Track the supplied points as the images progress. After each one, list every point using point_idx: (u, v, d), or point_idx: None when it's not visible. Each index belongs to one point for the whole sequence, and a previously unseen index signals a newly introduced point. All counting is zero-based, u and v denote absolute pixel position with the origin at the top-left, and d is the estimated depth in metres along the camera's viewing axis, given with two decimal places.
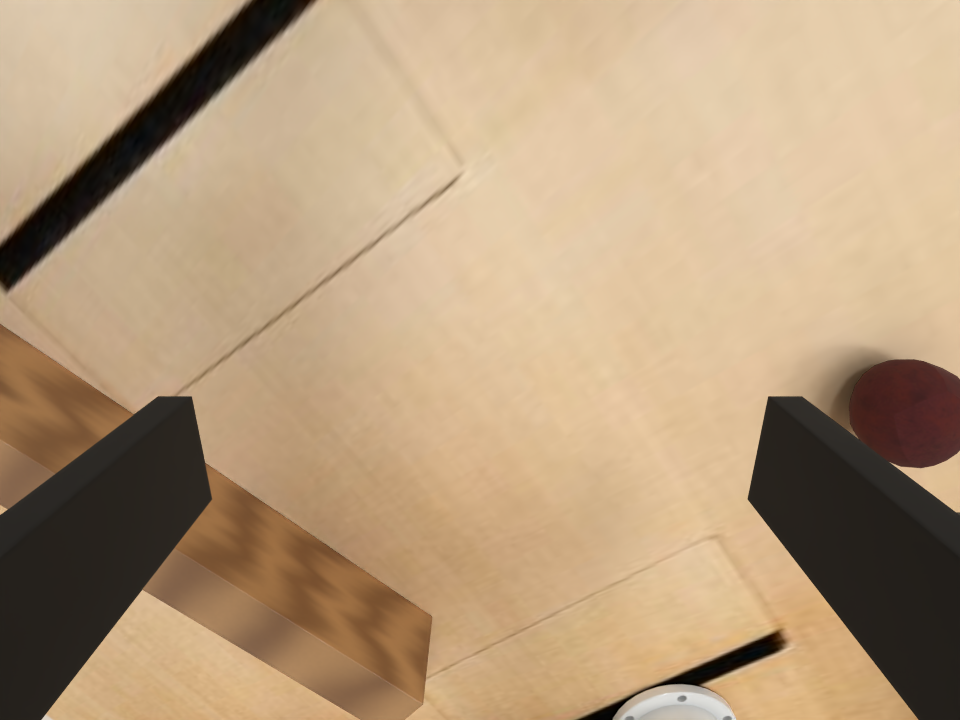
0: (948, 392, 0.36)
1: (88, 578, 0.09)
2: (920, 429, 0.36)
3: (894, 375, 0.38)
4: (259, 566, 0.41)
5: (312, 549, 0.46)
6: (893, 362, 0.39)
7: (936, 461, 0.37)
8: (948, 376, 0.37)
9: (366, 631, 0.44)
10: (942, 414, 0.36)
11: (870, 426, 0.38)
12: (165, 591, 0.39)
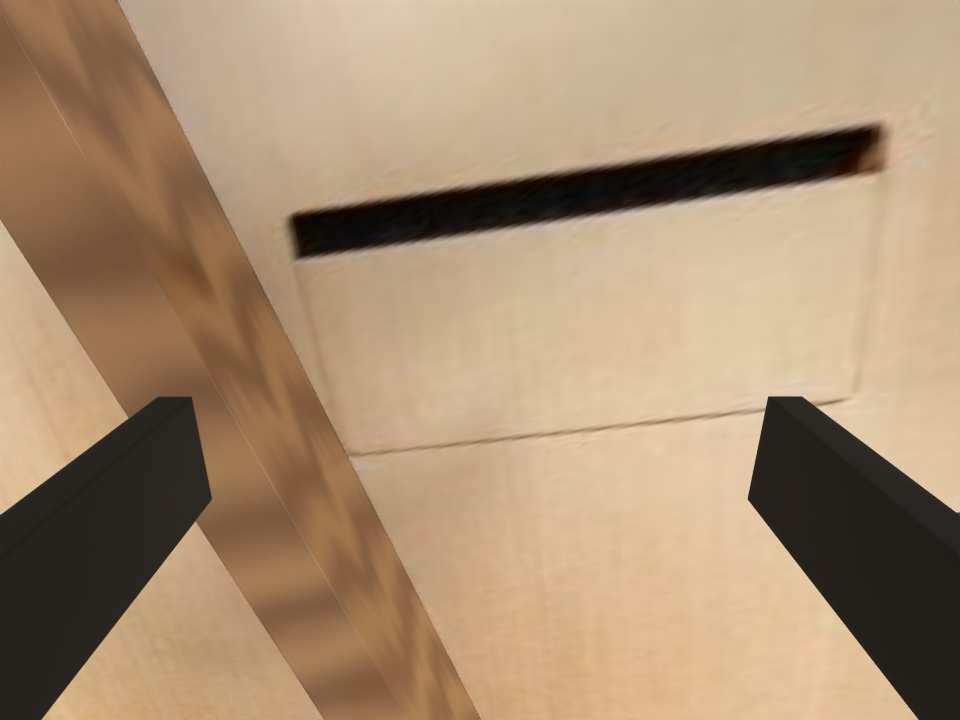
0: None
1: (89, 578, 0.09)
2: None
3: None
4: (416, 685, 0.35)
5: (440, 659, 0.40)
6: None
7: None
8: None
9: None
10: None
11: None
12: (323, 691, 0.31)
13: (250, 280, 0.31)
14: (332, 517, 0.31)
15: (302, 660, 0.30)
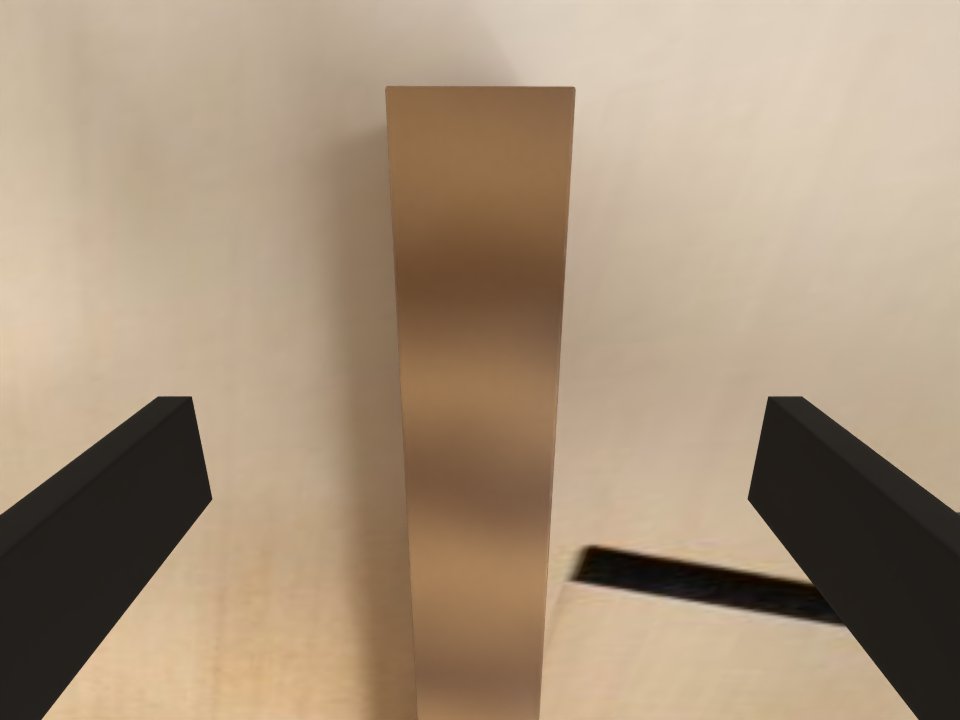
0: None
1: (88, 578, 0.09)
2: None
3: None
4: None
5: None
6: None
7: None
8: None
9: None
10: None
11: None
12: None
13: None
14: None
15: None
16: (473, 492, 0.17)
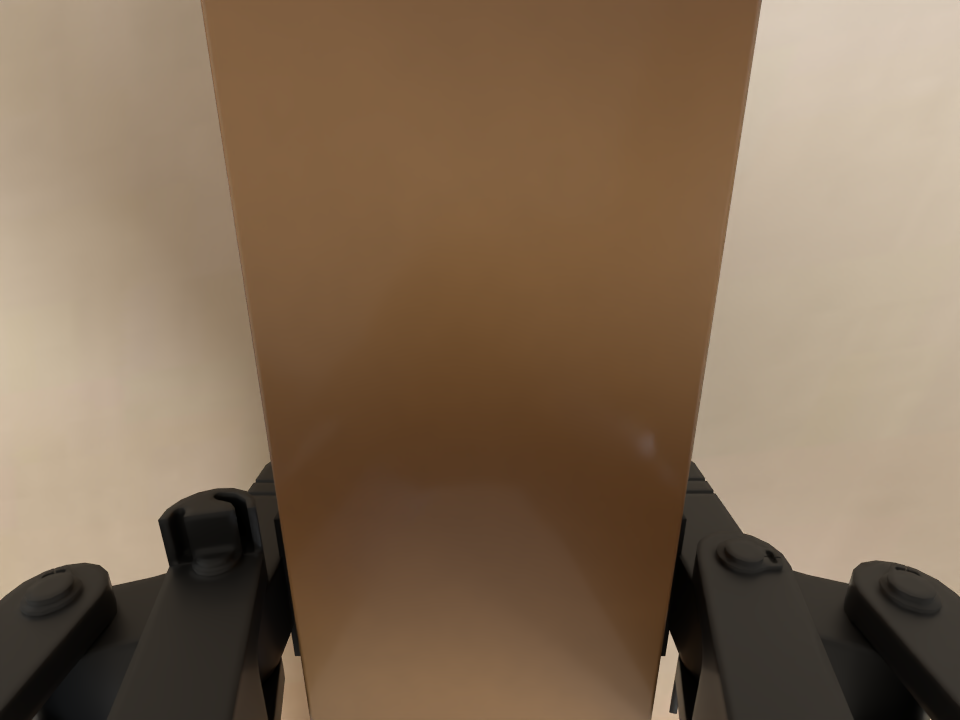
0: None
1: None
2: None
3: None
4: None
5: None
6: None
7: None
8: None
9: None
10: None
11: None
12: None
13: None
14: None
15: None
16: None
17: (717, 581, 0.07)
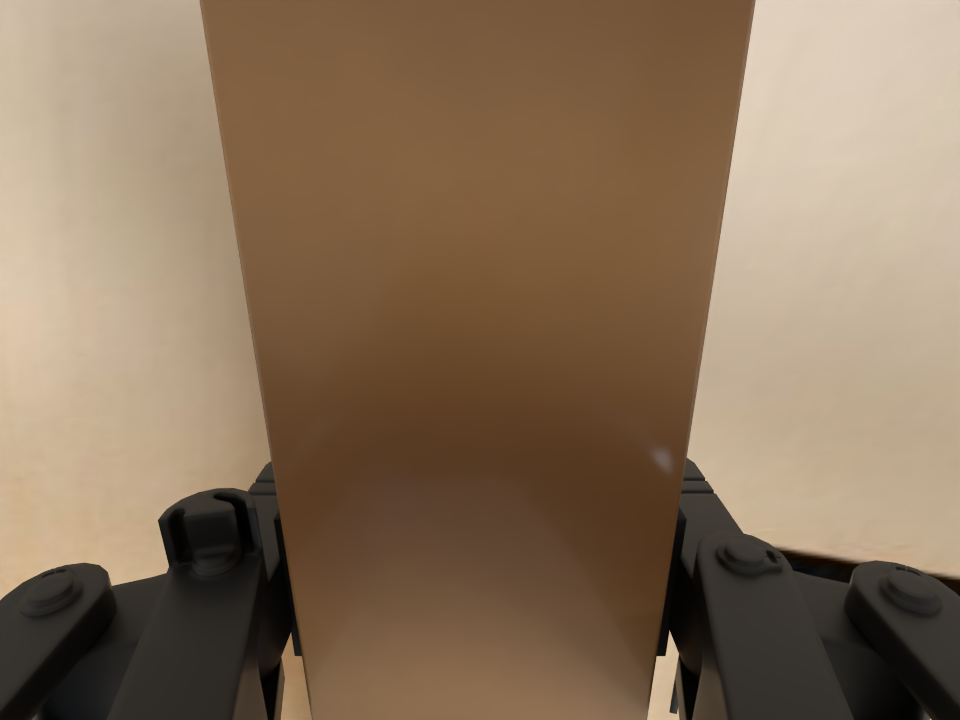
0: None
1: None
2: None
3: None
4: None
5: None
6: None
7: None
8: None
9: None
10: None
11: None
12: None
13: None
14: None
15: None
16: None
17: (717, 581, 0.07)
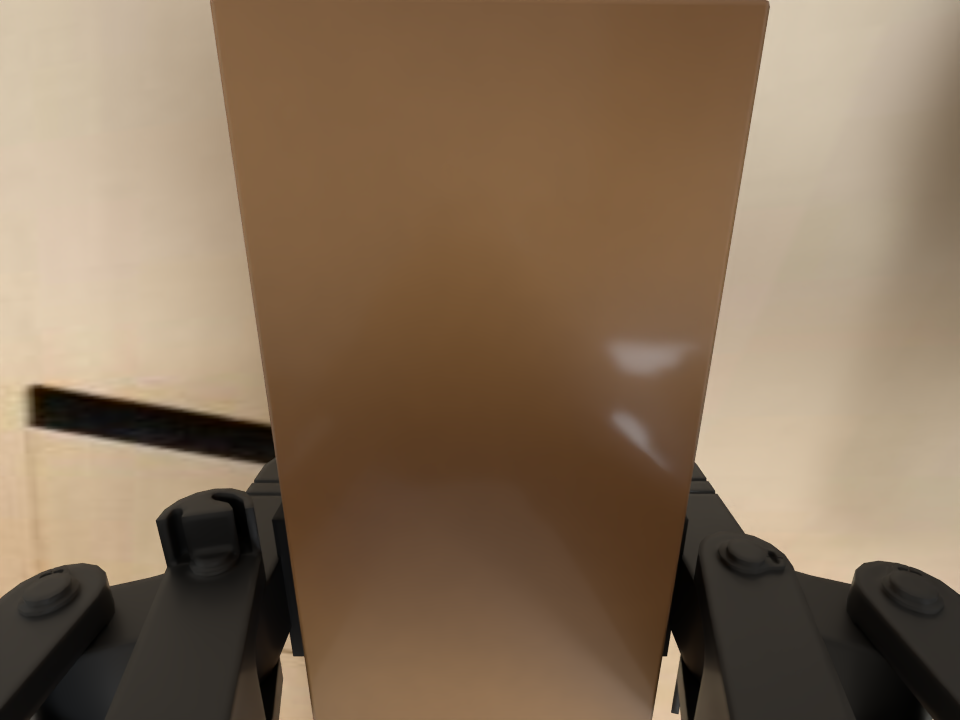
0: None
1: None
2: None
3: None
4: None
5: None
6: None
7: None
8: None
9: None
10: None
11: None
12: None
13: None
14: None
15: None
16: None
17: (719, 581, 0.07)
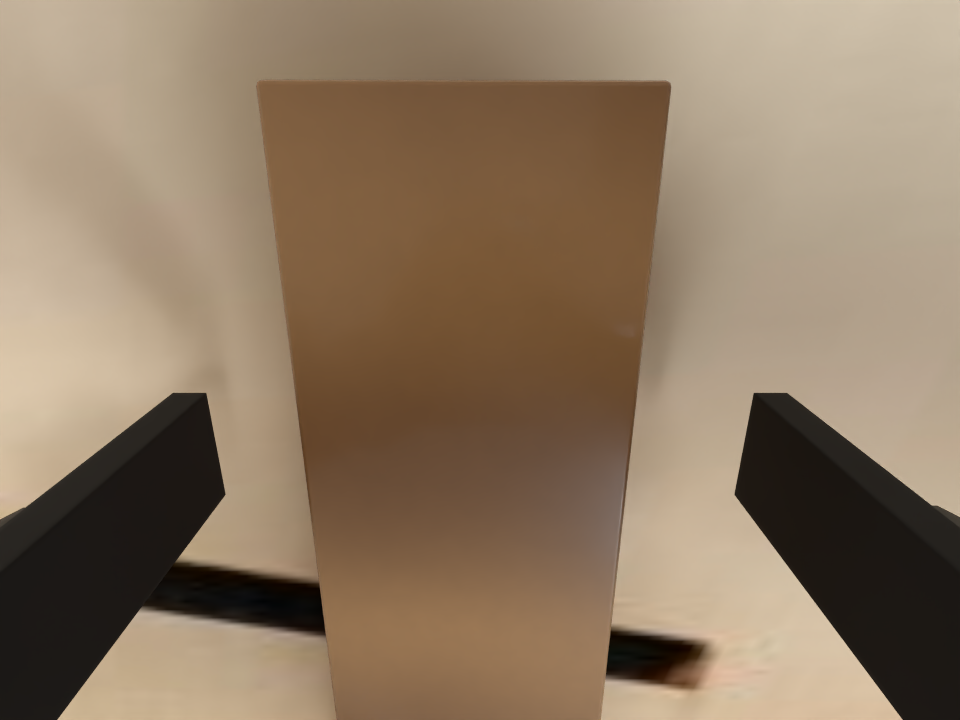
0: None
1: (110, 570, 0.09)
2: None
3: None
4: None
5: None
6: None
7: None
8: None
9: None
10: None
11: None
12: None
13: None
14: None
15: None
16: None
17: None
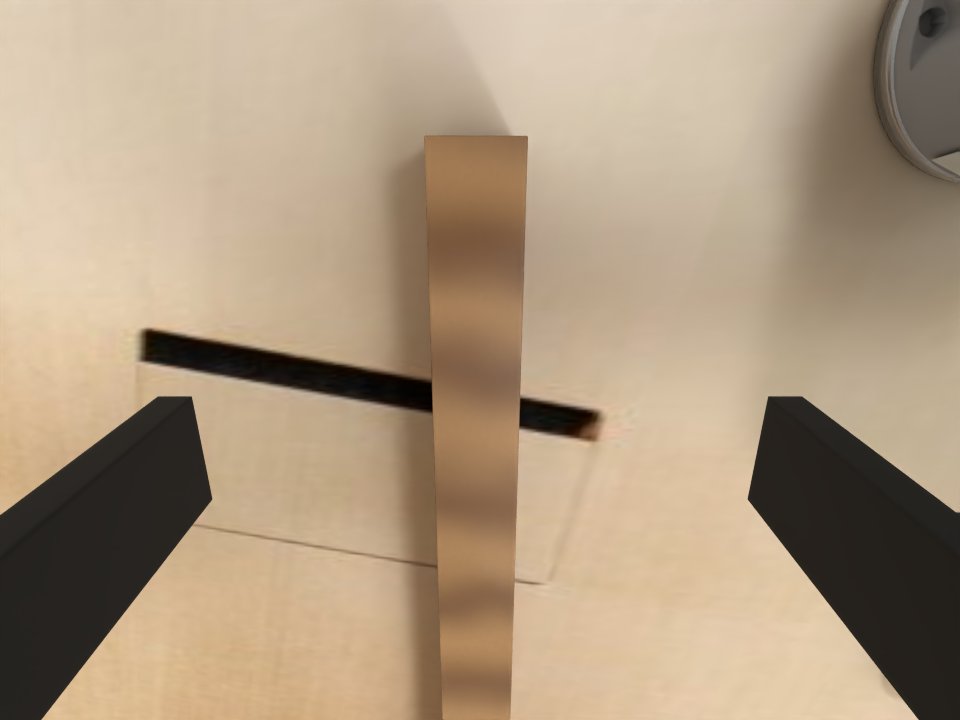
0: None
1: (88, 578, 0.09)
2: None
3: None
4: None
5: None
6: None
7: None
8: None
9: None
10: None
11: None
12: None
13: None
14: None
15: None
16: (472, 375, 0.29)
17: None
